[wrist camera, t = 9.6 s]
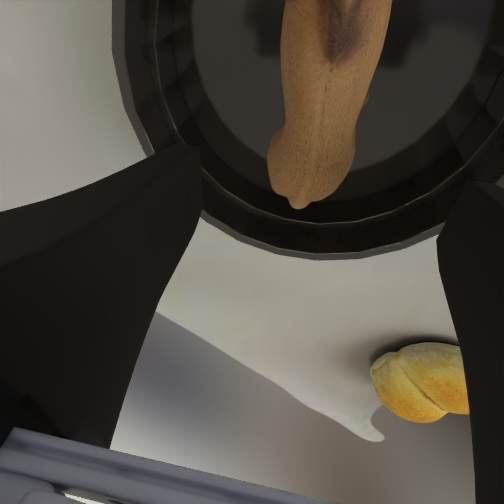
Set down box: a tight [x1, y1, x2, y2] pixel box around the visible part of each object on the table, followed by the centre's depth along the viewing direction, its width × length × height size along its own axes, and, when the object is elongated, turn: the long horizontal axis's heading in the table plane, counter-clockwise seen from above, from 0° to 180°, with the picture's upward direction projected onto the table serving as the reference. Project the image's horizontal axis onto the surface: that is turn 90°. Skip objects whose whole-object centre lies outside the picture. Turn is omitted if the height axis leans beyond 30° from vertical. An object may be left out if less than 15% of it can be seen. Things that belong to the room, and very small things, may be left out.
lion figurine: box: [267, 0, 392, 209], centre depth 11 cm, size 15×5×9 cm, turn 10°
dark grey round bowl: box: [112, 0, 504, 261], centre depth 14 cm, size 16×16×4 cm
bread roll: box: [370, 342, 470, 423], centre depth 28 cm, size 8×9×4 cm
